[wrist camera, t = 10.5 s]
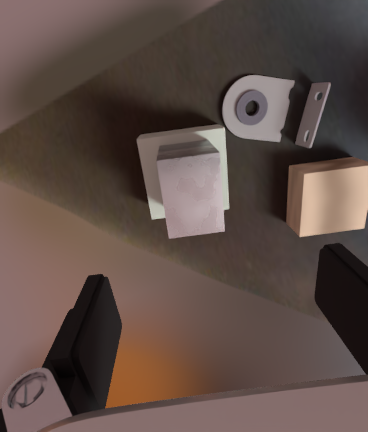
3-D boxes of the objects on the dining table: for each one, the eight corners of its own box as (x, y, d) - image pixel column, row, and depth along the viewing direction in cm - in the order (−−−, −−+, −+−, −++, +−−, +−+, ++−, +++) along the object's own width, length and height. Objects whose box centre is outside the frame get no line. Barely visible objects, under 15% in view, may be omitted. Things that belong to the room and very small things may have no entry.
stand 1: (218, 124, 30) (224, 127, 26) (222, 197, 34) (229, 209, 30) (140, 134, 30) (136, 139, 26) (153, 206, 34) (151, 219, 30)
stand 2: (352, 156, 32) (376, 164, 29) (344, 214, 36) (364, 228, 32) (289, 165, 32) (304, 174, 29) (286, 222, 36) (299, 236, 32)
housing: (212, 202, 29) (224, 231, 23) (169, 208, 29) (169, 238, 23) (207, 139, 27) (219, 152, 20) (159, 145, 27) (156, 160, 20)
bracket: (226, 71, 28) (233, 68, 25) (314, 83, 29) (332, 82, 26) (216, 134, 31) (222, 138, 28) (297, 143, 32) (311, 148, 29)
